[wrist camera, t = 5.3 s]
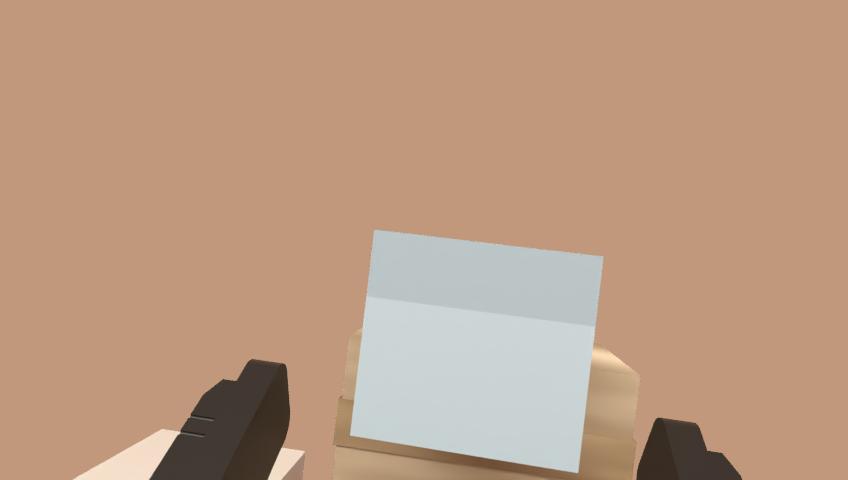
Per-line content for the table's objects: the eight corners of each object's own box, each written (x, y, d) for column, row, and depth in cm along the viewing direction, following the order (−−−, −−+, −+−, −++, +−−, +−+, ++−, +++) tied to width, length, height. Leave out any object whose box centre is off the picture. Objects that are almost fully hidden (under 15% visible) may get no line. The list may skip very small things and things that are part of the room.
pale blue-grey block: (455, 308, 34) (462, 245, 34) (524, 318, 34) (532, 253, 34) (350, 435, 11) (374, 229, 11) (578, 473, 10) (603, 257, 10)
